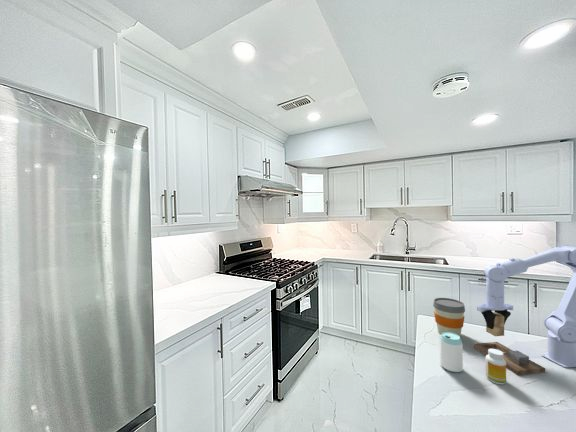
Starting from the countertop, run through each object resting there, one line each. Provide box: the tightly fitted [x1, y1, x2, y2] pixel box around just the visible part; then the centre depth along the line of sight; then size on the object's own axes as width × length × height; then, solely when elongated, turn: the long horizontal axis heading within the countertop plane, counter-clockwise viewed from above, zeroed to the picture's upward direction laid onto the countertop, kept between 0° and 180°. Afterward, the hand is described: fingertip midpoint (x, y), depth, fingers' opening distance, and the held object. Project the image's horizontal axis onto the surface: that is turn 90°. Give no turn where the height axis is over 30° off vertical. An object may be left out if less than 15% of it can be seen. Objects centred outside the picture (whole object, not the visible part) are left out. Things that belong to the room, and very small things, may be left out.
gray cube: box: [508, 350, 530, 366], centre depth 91 cm, size 4×4×4 cm
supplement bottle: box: [485, 348, 507, 385], centre depth 84 cm, size 5×5×10 cm
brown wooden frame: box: [473, 341, 546, 376], centre depth 95 cm, size 11×18×2 cm, turn 6°
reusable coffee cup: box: [432, 297, 466, 337], centre depth 116 cm, size 12×13×15 cm
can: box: [439, 332, 464, 373], centre depth 91 cm, size 7×7×12 cm
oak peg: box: [485, 311, 505, 337], centre depth 101 cm, size 4×4×8 cm
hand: (495, 327), depth 101 cm, fingers closed on oak peg, 4 cm apart
